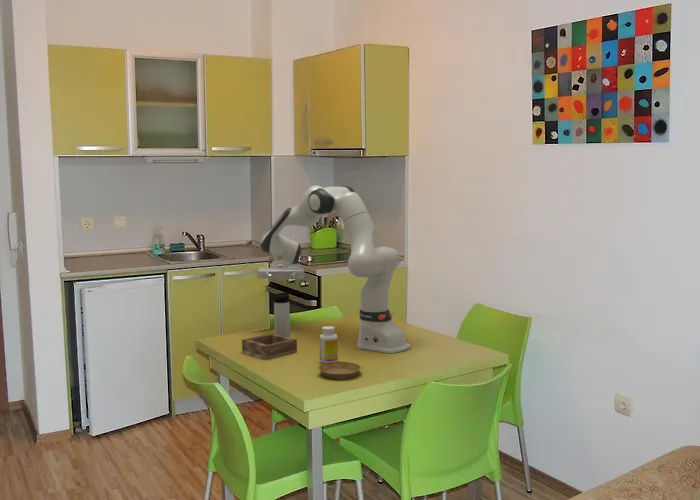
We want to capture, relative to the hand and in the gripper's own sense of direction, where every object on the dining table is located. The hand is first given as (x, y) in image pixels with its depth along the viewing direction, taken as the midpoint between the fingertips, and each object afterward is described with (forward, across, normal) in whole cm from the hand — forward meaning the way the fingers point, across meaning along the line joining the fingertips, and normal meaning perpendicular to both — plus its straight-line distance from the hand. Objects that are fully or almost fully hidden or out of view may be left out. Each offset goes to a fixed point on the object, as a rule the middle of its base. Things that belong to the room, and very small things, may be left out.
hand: (280, 276), depth 303 cm
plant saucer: (+60, +20, +23) cm, 67 cm away
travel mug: (+12, +1, +25) cm, 28 cm away
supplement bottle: (+44, +17, +24) cm, 53 cm away
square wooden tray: (+28, -5, +24) cm, 38 cm away
